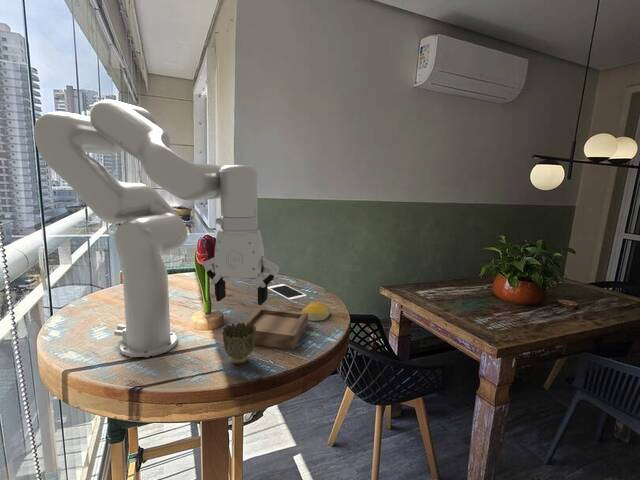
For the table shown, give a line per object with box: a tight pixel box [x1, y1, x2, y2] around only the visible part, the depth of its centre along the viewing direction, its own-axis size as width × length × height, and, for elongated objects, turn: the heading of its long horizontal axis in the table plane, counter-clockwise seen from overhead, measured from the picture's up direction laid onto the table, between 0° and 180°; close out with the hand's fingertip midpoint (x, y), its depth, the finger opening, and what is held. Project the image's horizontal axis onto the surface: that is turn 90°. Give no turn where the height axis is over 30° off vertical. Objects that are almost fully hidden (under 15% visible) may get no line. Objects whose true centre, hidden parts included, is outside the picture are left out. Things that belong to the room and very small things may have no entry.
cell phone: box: [268, 283, 308, 301], centre depth 128 cm, size 8×16×1 cm, turn 39°
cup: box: [222, 322, 256, 365], centre depth 78 cm, size 8×7×8 cm
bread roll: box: [300, 301, 330, 322], centre depth 106 cm, size 8×9×4 cm
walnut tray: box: [242, 306, 309, 351], centre depth 93 cm, size 15×15×4 cm
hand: (241, 301), depth 76 cm, fingers open, 9 cm apart
